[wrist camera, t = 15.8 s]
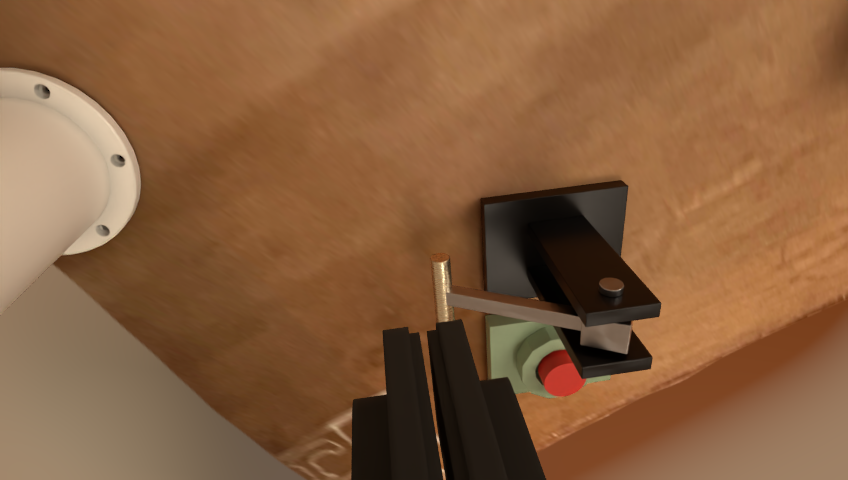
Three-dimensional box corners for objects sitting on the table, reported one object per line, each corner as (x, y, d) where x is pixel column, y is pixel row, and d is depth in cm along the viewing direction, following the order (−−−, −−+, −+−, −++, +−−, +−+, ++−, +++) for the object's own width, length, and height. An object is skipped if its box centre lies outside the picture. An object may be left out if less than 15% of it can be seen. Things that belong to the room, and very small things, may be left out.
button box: (488, 384, 48) (496, 412, 45) (485, 315, 45) (494, 341, 41) (602, 367, 49) (619, 394, 46) (609, 297, 45) (627, 322, 42)
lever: (444, 316, 39) (431, 336, 37) (438, 247, 36) (424, 265, 34) (628, 353, 34) (624, 378, 32) (638, 276, 31) (634, 299, 29)
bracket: (484, 296, 44) (528, 411, 32) (480, 198, 39) (529, 292, 28) (611, 278, 44) (697, 385, 33) (621, 180, 40) (724, 265, 29)
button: (537, 384, 45) (543, 399, 43) (537, 352, 43) (544, 367, 42) (577, 378, 45) (585, 393, 43) (580, 346, 43) (588, 360, 42)
